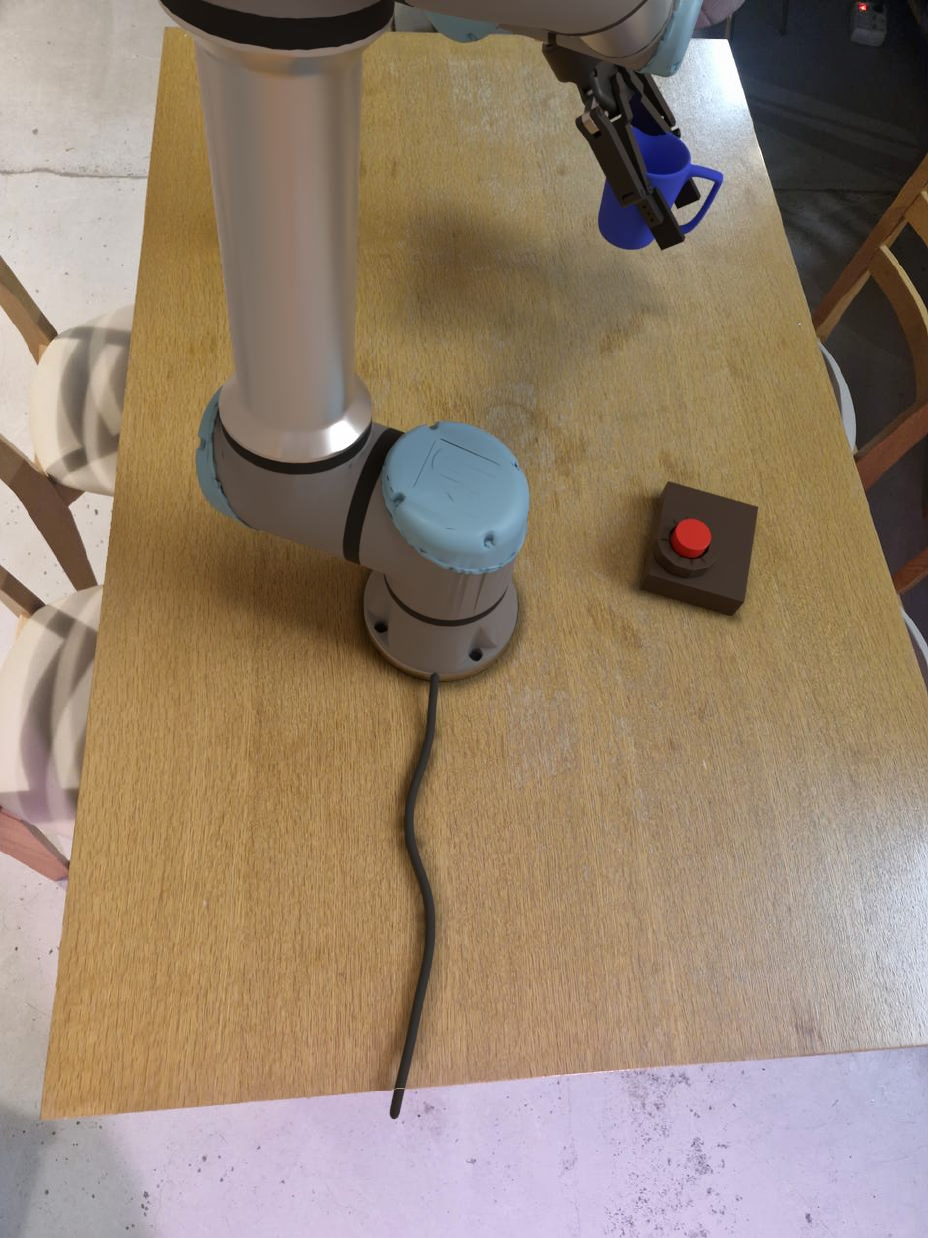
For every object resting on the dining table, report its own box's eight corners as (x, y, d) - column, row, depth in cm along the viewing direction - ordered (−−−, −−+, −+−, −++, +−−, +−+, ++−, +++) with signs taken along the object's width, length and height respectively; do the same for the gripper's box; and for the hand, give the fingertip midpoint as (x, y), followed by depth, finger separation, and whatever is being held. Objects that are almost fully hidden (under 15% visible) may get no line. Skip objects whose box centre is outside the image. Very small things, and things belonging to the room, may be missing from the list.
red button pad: (732, 616, 88) (751, 594, 84) (637, 588, 88) (651, 564, 84) (746, 522, 93) (765, 497, 89) (656, 496, 94) (670, 470, 89)
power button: (702, 562, 85) (708, 553, 84) (667, 552, 85) (673, 543, 84) (707, 533, 87) (713, 524, 85) (673, 523, 87) (678, 514, 85)
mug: (690, 274, 94) (726, 192, 85) (585, 249, 94) (609, 164, 85) (695, 226, 98) (729, 144, 89) (593, 202, 98) (617, 117, 89)
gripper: (574, 52, 72) (692, 268, 86) (634, -57, 81) (732, 155, 94) (507, 94, 77) (628, 292, 91) (570, -12, 86) (672, 183, 99)
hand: (681, 222), depth 93 cm, fingers closed on mug, 7 cm apart
